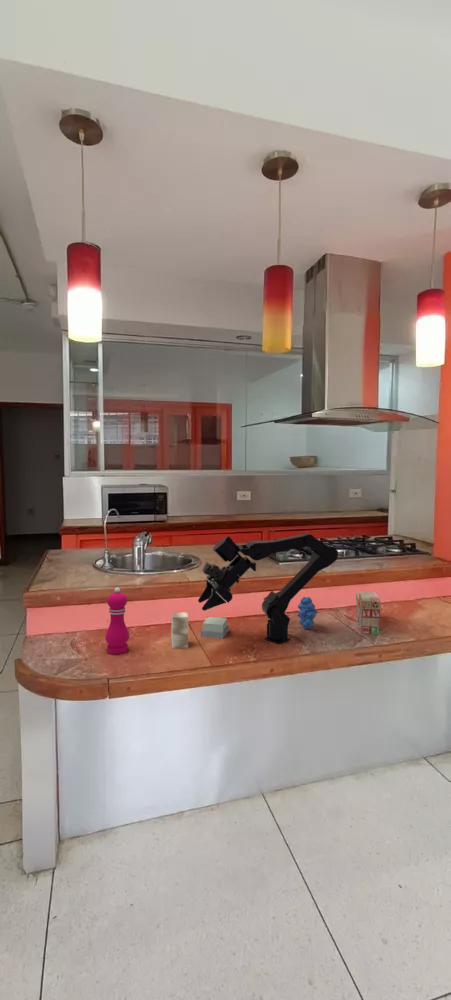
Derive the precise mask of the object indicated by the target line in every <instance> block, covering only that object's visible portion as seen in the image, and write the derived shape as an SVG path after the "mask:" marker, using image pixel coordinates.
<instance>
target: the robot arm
mask: <svg viewBox="0 0 451 1000" xmlns="http://www.w3.org/2000/svg"><path fill="white" fill-rule="evenodd" d="M304 547H307V548H308V549H309V550H310V551H312V553H311V556H310V559H309V560H308V562H307V563H306V564H305V565H304V566H303V567H302V568H301V569H300V570H299V571H298V572H297V573H296V574H295V575H294V576H293V577H292V578H291V579H290V580H289V582H287V583H286V584H285V585H284V586H283V588H281V589H280V590H279V591H277V592H275V591H273V590H271V591H270V592H269V594H267V596H266V597H263V601H262V604H261V610H262V612H263V613H264V614H265V615H266V616H267V618H268V619H267V624H266V636H265V637H264V640H267V641H270V642H273V643H276V644H282V643H284V642H285V643H286V642H287V641H291V637H289V634H288V633H289V623H290V621H291V619H290V617H289V616H288V615H287V614H286V613H285V612H286V611H287V610H288V607H289V605H290V603H291V601H292V599H294V598H295V596H297V595H298V593H300V591H301V590H302V589H303V588H304V587H305V586H306V585H307V584H308V583H309V582H310V581H311V580H312V579H313V578H314V577H315V576H316V574H318V572H320V571H321V570H324V569H326V568H328V567H330V566H332V564H333V563H335V562H336V561H337V560H338V558H339V553H338V550H337V548H336V547H335V546H332V545H328V544H326V543H323V542H322V541H321V540H319V539H317V538H316V537H314V535H313V534H310V533H308V532H304V533H301V534H297V535H292V536H287V537H283V538H282V537H281V538H277V539H273V540H259V539H257V540H250V541H248V542H247V543H245V544H241V545H239V544H236V543H235V542H234V541H233V539H232V538H231V537H230V536H229V535H227V536H225V537H224V538H223V539H221V540H219V541H218V542H217V543H216V544H215V545H214V546H213V548H212V549H213V550H212V551H213V552H215V553H216V554H217V555H218V556H219V557H220V558H221V560H223V561H224V562H225V563H226V562H229V564H228V565H227V566H223V567H221V568H220V567H219V565H217V564H211V563H210V562H205V565H204V567H203V569H202V572H203V574H205V575H207V576H206V579H205V587H204V589H203V591H202V593H200V594H201V595H200V596H199V598H198V599H197V602H198V603H199V604H201V603H203V602H205V603H204V604H203V605H202V607H201V609H202V611H203V612H205V611H207V610H210V609H213V608H215V607H218V606H220V605H223V604H226V603H228V604H229V603H230V602H231V601H232V600H233V593H232V592H231V591H232V590H231V588H232V587H233V586H234V585H235V584H236V583H237V584H239V583H240V578H241V577H243V575H244V574H246V573H247V572H248V570H249V569H251V570H252V571H253V572H256V571H257V567H256V566H257V562H255V561H261V560H263V559H265V558H268V557H270V556H272V555H273V554H276V553H279V552H284V551H285V552H286V551H289V550H294V549H299V548H304ZM240 553H241V554H242V555H243V556H242V555H241V554H240ZM249 558H250V559H251V560H254V561H251V560H250V559H249Z"/></svg>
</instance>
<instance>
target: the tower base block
mask: <svg viewBox="0 0 451 1000" xmlns="http://www.w3.org/2000/svg"><path fill="white" fill-rule="evenodd" d="M229 627H230V626H229V625H228V624H227V626H226V628H225V629H224V631H223V632H217V631H203V628H202V629H201V630H200V637H201V638H203V637H204V638H215V639H224V638H225V637H226V635H227V634H228V633H229V629H230V628H229Z"/></svg>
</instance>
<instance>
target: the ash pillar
mask: <svg viewBox="0 0 451 1000" xmlns="http://www.w3.org/2000/svg"><path fill="white" fill-rule="evenodd" d="M170 627H171V630H170V631H171V634H170V635H171V639H170V640H171V641H170V642H171V648H172V649H188V648H189V614H188V612H187V611H186V612H184V611H183V612H171V626H170Z"/></svg>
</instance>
